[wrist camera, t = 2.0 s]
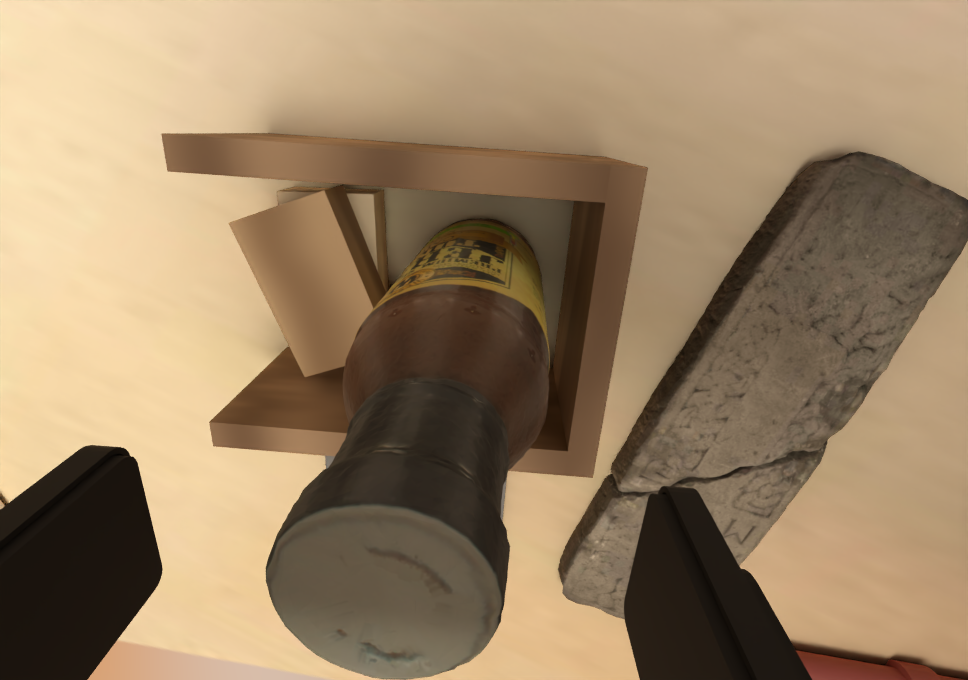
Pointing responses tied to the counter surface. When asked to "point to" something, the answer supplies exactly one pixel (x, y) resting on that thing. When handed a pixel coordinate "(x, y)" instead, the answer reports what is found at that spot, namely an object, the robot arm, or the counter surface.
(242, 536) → the counter surface
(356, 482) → the sauce bottle
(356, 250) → the offcut upper
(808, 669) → the rolling pin
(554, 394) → the rack
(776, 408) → the stone slab
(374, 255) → the offcut lower
